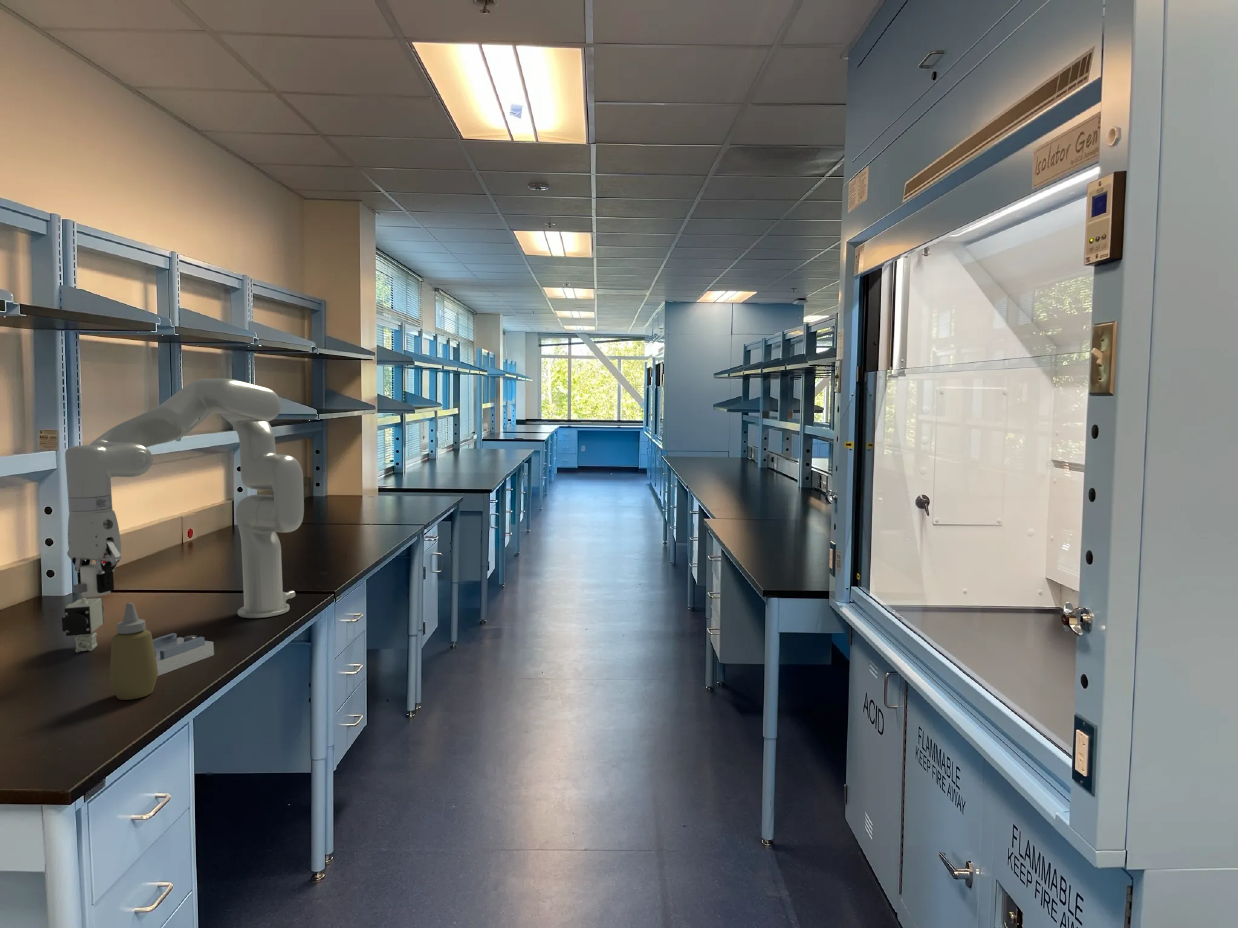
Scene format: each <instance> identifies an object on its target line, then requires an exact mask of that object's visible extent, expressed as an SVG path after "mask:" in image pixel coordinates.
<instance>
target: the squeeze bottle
mask: <svg viewBox="0 0 1238 928" xmlns="http://www.w3.org/2000/svg"><path fill="white" fill-rule="evenodd" d="M146 628H147V627H146V619H143V618H139V616H138V613H137V609H136V606H135V603H134V602H128V603H126V605H125V609H124V614H123V619H122V621H119V622H117V623H116V631H117V633H116V634H114V636H112V637H111V645H110V646H111V647H110V660H109V661H110V663H109V678H108V679H109V684H110V686H111V688H112V690H113V692H114V694H115V696H116V698H117V699H118V700H123V701H124V700H125V701H128V700H136V699H141V698H143V697H147V696H149V695H151V694H152V693H153V691H154V688H155V685H156V682H157V679H158V677H159V676H158V669H157V663H156V657H155V651H154V646H153V635H152V631H150V630H148V629H146Z"/></svg>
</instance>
